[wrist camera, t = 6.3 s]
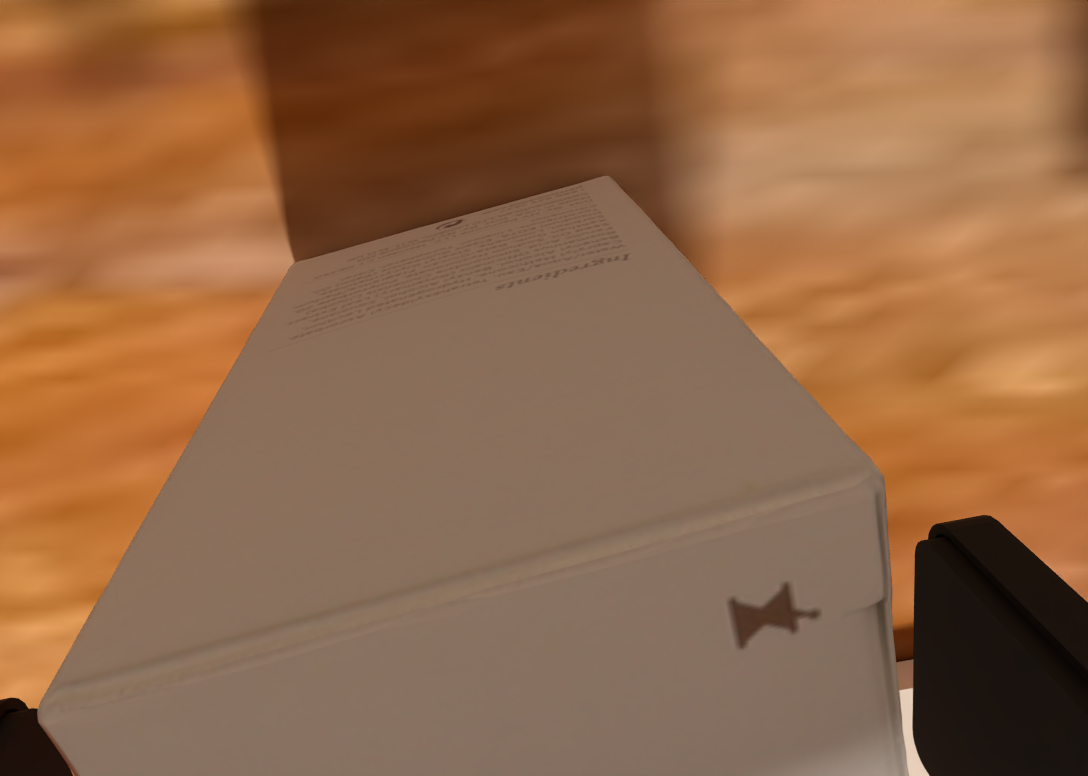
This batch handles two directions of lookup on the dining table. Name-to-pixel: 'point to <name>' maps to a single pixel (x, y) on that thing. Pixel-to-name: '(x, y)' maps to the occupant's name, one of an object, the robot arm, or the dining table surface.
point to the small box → (499, 533)
